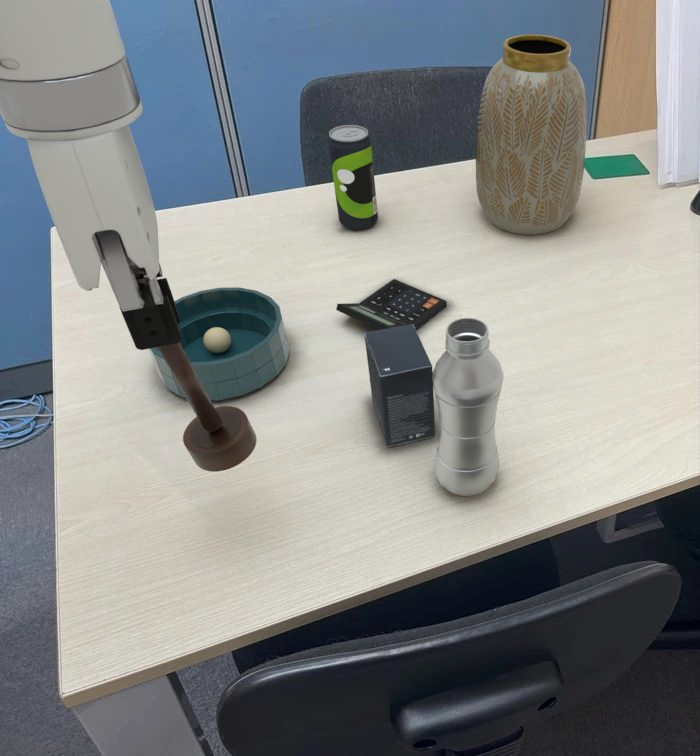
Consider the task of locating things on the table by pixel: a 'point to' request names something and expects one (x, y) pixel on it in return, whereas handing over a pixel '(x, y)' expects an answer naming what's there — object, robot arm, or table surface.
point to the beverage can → (353, 176)
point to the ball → (217, 340)
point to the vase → (531, 136)
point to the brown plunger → (209, 418)
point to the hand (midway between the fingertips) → (159, 333)
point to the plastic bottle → (467, 408)
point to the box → (401, 384)
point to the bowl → (248, 341)
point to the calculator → (395, 307)
